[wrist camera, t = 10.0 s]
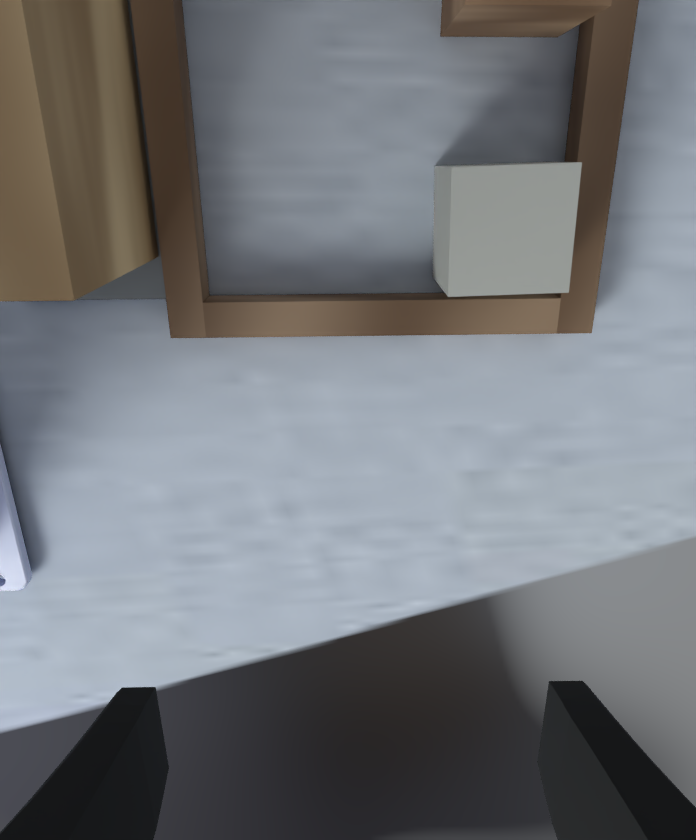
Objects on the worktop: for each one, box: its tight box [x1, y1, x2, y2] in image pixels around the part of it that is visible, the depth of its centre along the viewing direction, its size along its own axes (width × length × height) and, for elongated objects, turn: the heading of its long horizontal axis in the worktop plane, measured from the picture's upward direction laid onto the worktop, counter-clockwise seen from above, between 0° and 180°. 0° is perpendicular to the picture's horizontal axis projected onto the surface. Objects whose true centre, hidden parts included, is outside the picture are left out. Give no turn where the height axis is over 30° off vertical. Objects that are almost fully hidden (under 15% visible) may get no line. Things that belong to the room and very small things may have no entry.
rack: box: [130, 0, 639, 338], centre depth 16 cm, size 12×12×1 cm
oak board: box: [0, 0, 159, 301], centre depth 13 cm, size 2×8×6 cm, turn 0°
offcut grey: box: [433, 162, 582, 297], centre depth 16 cm, size 3×3×3 cm
